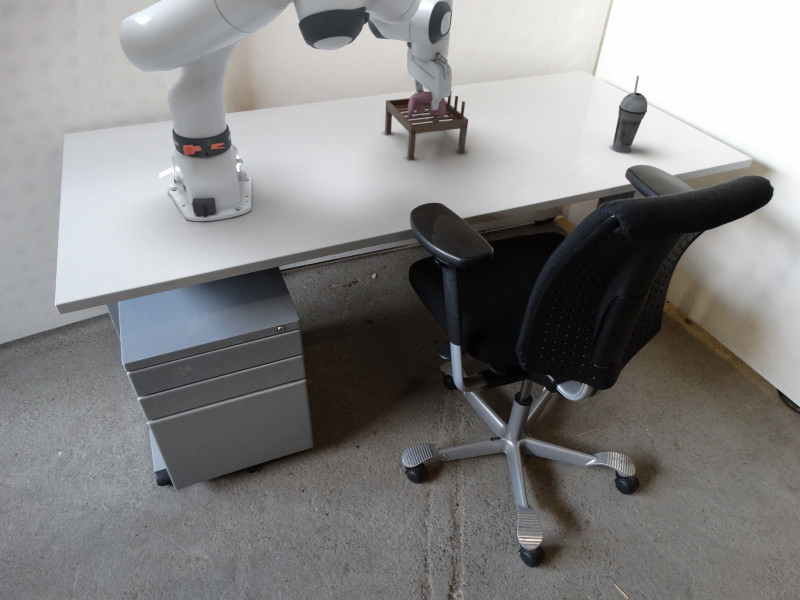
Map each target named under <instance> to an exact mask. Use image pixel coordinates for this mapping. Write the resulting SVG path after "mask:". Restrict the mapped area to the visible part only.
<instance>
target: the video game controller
mask: <svg viewBox="0 0 800 600" xmlns="http://www.w3.org/2000/svg"><path fill="white" fill-rule="evenodd" d="M409 98H410V100H409V103H408V111H407V112H408V116H409V117H411V116H413V112H414V108H415V109H416V110H417V112H418V113H419V114H418V115H422V114H423V113H424V112H425V107H424V105H423V104H424V103H428V104H430V102H432V100H433V97H432V93H431V92H430V91H426V90H424V91H423V92H417V93H416V92H415V93H413V94H412V95H411V96H410V97H409ZM445 101H446V99H445V98H442V99H441V101H440V103H439V107H438V110H439V115H440V116H439V117H440V119H441V121H443V120H442V119H443V118H444V115H445V107H446V106H445ZM427 110H428V111H429V113H428V114H431V115H435V114H436V113H437V111H438V110H434V111H433V110H432V109H431V108H430V107H429V109H427Z"/></svg>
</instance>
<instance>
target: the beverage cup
mask: <svg viewBox="0 0 800 600" xmlns="http://www.w3.org/2000/svg"><path fill="white" fill-rule="evenodd" d="M639 78H640V75H637V76H636V79H635V84H634V90H633V92H631V93H629V94H627V95H626V96H624V97H623V98H622V100H621V101H620V104H619V105H618V117H617V122H616V126H615V131H614V137H613V143H612V147H611V148H612V150H614V151H615V152H618V153H623V154H624V153H629V152H630V148H631V147H632V145H633V142H634V140H635V138H636V135H637V133H638V130H639V128H640V125H641V124H642V121H643V119H644V118H645V116H646V114H647V113H648V100H647V97H645V95H643V94H642V93H641V92H637V89H638V84H639V80H640V79H639Z"/></svg>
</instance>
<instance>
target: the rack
mask: <svg viewBox="0 0 800 600" xmlns="http://www.w3.org/2000/svg"><path fill="white" fill-rule="evenodd" d="M452 93H453V91H452V90H451V94H450V96H449V97H447V100H445V106H446V107H445V115H444V118H443V119H442V120H441V119H440V115H439V110H438V111H437V113H436V114H435V115H431V114H430V113H429V111H428V109H429V107H430V104H428V103H424V104H423V105H424V107H425V112H424V113H423V114H419V113H418V112H417V110H416V109H415V108H414V112H413V115H412V116H411V117H409V116H408V103H409V100H410V97H408V98H397V99H386V100H385V114H384V115H385V116H384V117H385V120H384V134H385V135H392V123H393V118H394V119H396V121H397V122H398V123H399V124H400V125H401V126H402V127H403V128H404V129H405V130H406V131H407V132H408V140H407V156H406V157H407V159H408V161H412V160H415V154H416V153H415V152H416V139H417V135H418V134H426V133H434V132H442V131H443V132H444V131H452V130H459V133H458V143H457V153H459V154H464V153H465V149H466V141H467V133H468V125H469V118H467V117H466V116H464V114H465V109H466V108H465V106H466V101H463V100H462V101H461V107H460V108H461V109H460V111H458V103H459V95H455V96H454V105H453V106H452V105H451V102H452Z"/></svg>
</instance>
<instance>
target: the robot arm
mask: <svg viewBox="0 0 800 600" xmlns="http://www.w3.org/2000/svg"><path fill="white" fill-rule="evenodd" d="M453 3H454V1H453V0H160V1H157V2H155V3H153V4H151V5H150V6H148V7H145V8H144V9H141V10H140V11H137V12H135V13H133V14H131V15H129V16H127V17H125V18H124V19H122V20H121V21H122V22H121V23H120V27H119V35H118V36H119V42H120V46H121V49H122V52H123V53H124V55H125V57H126V59H127V60H128V61H129V62H130V63H131V64H132V65H133V66H134V67H135V68H137V69H138V70H140V71H142V72H145V73H149V72H151V73H152V72H153V73H154V72H167V71H168V72H170V71H172V70H176V69H180V70H179V73H178V75H177V78H176V79H175V80H174V81H173V83H172V84H171V86H170V87H169V90H168V92H167V105H168V108H169V113H170V118H171V122H172V130H171V133H172V140H173V144H174V148H175V149H174V151H173V152H172V153H171V154H170V156H169V159H170V164H171V168H168V169H167V170H165V171H162V172H161V173H159V178H162V177H164V176H166V175H168V174H170V173H172V174H173V182H174V183H172V184H170V185H168V187H167V193H168V195H169V196H170V198H171V199H172V201H173V202H174V203H175V205H176V206H177V208H178V210H179V211H180V213H181V214H182V216H183V217H184V219H186V220H187V221H190V222H191V221H192V222H210V221H211V222H213V221H219V220H226V219H231V218H236V217H240V216H243V215H245V214H247V213H249V212H251V211H252V207H253V206H252V205H253V203H252V201H253V181H252V177H251V175H248V174H247V170H242V168H241V166H243V163H244V162H243V158H240V153H239V148H238V147H237V146H236V145H234V144H233V143H232V133H231V130H230V127H229V125H228V124H227V118H226V109H225V99H224V87H225V85H224V84H225V78H226V74H227V70H228V66H229V62H230V59H231V57H232V55H233V53H234V51H235V50H236V48H238V46H239V45H240V43H241V41H242V40H243V39H245V38H246V37H249V36H251V35H253V34H254V33H257V31H258V32H259V30H261V29H263V28H265V27H266V26H268V25H269V24H270V23H272V22H273V21H274V20H276V19H277V17H279V16H280V15H281V14H282V13H283V12H284V11H285V10H286V9H287V8H288V7H289V6H290V4H293V6H294V9H295V12H296V16H297V18H298V28H299V31H300V35H301V36H302V38H303V40H304V42H305V44H306V45H308V46H309V47H311V48H313V49H316V50H323V51H334V50H339V49H341V48H342V49H343V48H345V46H348V45H350V44H352V43H353V42H354V41H355V40H356V39H357V38H358V36H360V34H361V32H362V30H363V28H364V26H365V25H366V24H367V26H368V29H369V31H370V32H371V34H372V35H373V36H374V37H375V38H376V39H381V40H393V41H394V40H395V41H401V42H406V47H407V51H406V68H407V69H406V70H407V73H408V74H409V75H410V76H411V77H412V78H413V82H414V88H415V93H417V92H423V91H425V89H426V90H427V91H428V92H431V93H432V97H433V100H432V102H430V108H431V109H432V110H433V111H434V110H438V107H439V103H440V101H441V99H442V98H444V99H445V98H448V97H449V96H450V94H451V91H452V80H453V72H452V67H451V65H450V64H449V62H448V56H449V48H450V39H451V38H450V37H451V33H450V30H451V27H452V20H453V19H452V18H453V17H452V16H453V6H454V5H453ZM451 95H452V94H451Z"/></svg>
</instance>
